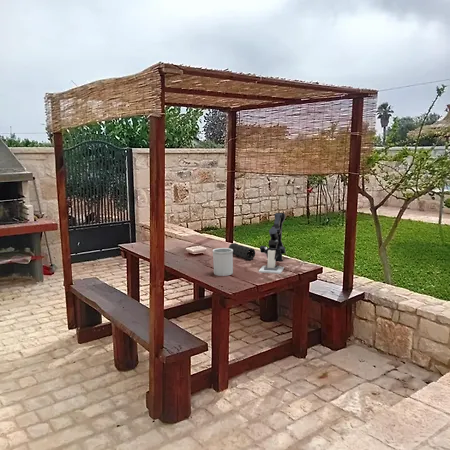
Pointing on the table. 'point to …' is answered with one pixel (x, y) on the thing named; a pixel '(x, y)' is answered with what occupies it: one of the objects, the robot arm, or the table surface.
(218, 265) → the utensil holder
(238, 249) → the muzzle brake
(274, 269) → the dock plate
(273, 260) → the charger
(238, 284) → the table surface
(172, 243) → the table surface
